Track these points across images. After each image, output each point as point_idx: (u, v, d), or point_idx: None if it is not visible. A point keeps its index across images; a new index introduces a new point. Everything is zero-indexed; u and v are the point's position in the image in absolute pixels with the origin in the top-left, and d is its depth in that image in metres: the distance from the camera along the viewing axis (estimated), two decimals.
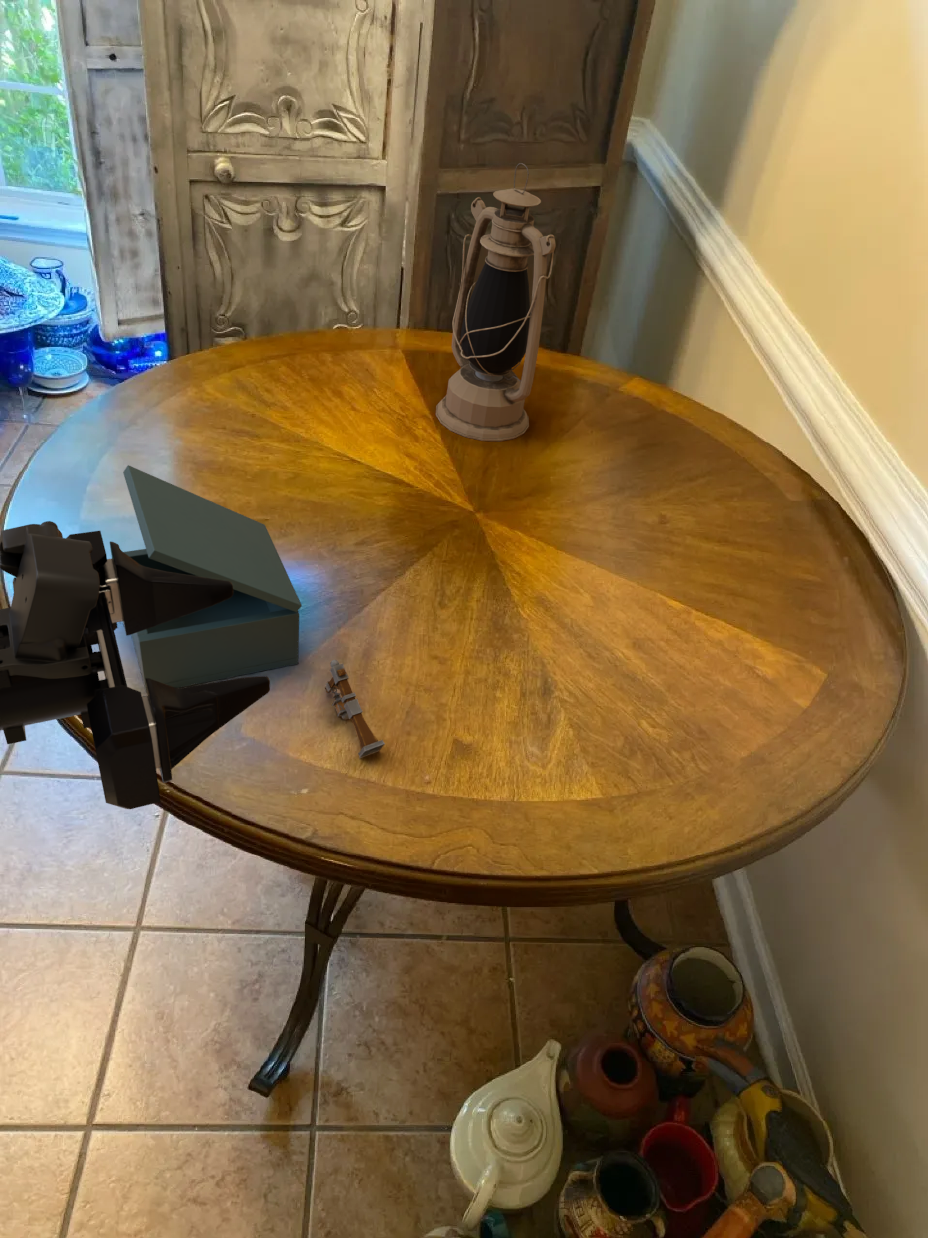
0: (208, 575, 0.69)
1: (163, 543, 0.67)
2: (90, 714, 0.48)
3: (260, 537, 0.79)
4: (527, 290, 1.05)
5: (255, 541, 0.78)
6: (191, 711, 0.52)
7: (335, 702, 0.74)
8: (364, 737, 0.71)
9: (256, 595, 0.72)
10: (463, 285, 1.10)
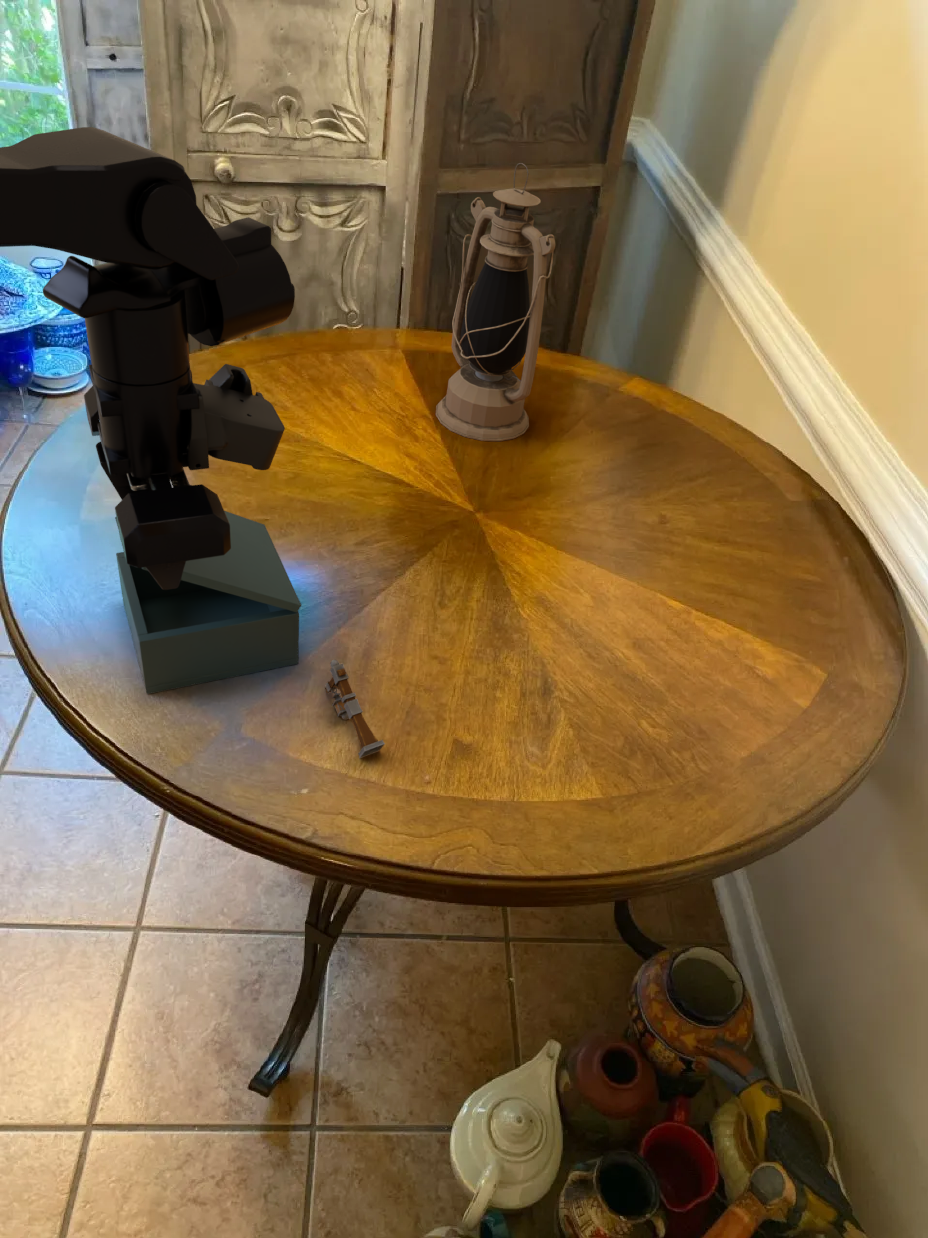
0: (204, 581, 0.69)
1: None
2: (206, 492, 0.56)
3: (259, 538, 0.79)
4: (527, 290, 1.05)
5: (253, 542, 0.78)
6: None
7: (335, 702, 0.74)
8: (364, 737, 0.71)
9: (254, 598, 0.72)
10: (463, 285, 1.10)
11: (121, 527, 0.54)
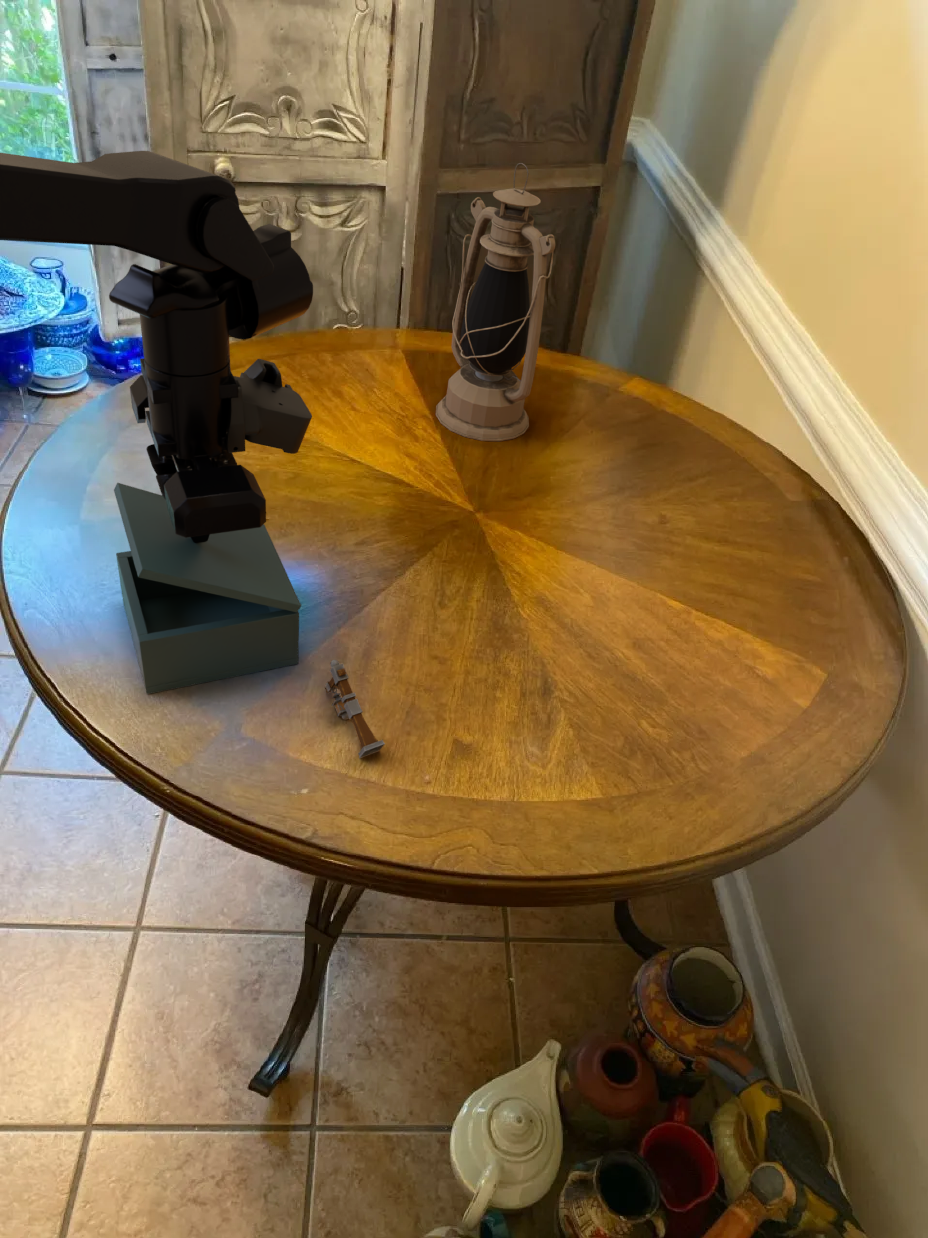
0: (201, 586, 0.69)
1: (152, 560, 0.67)
2: (244, 472, 0.64)
3: (258, 538, 0.79)
4: (527, 290, 1.05)
5: (252, 543, 0.78)
6: None
7: (335, 702, 0.74)
8: (364, 737, 0.71)
9: (253, 600, 0.72)
10: (463, 285, 1.10)
11: (171, 501, 0.61)
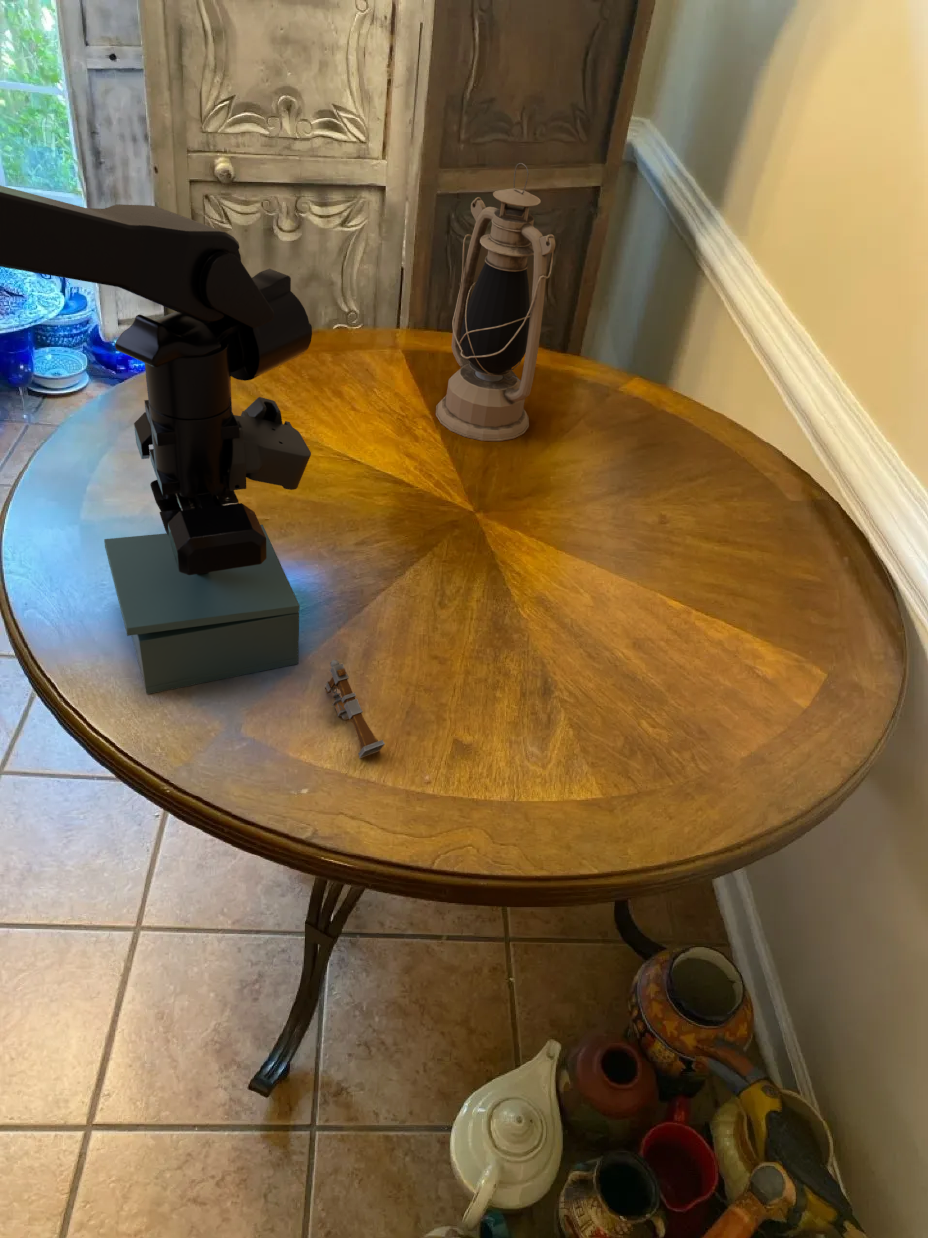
0: (191, 623, 0.71)
1: (137, 614, 0.70)
2: (246, 510, 0.66)
3: None
4: (527, 290, 1.05)
5: None
6: None
7: (335, 702, 0.74)
8: (364, 737, 0.71)
9: (248, 617, 0.73)
10: (463, 285, 1.10)
11: (174, 540, 0.63)
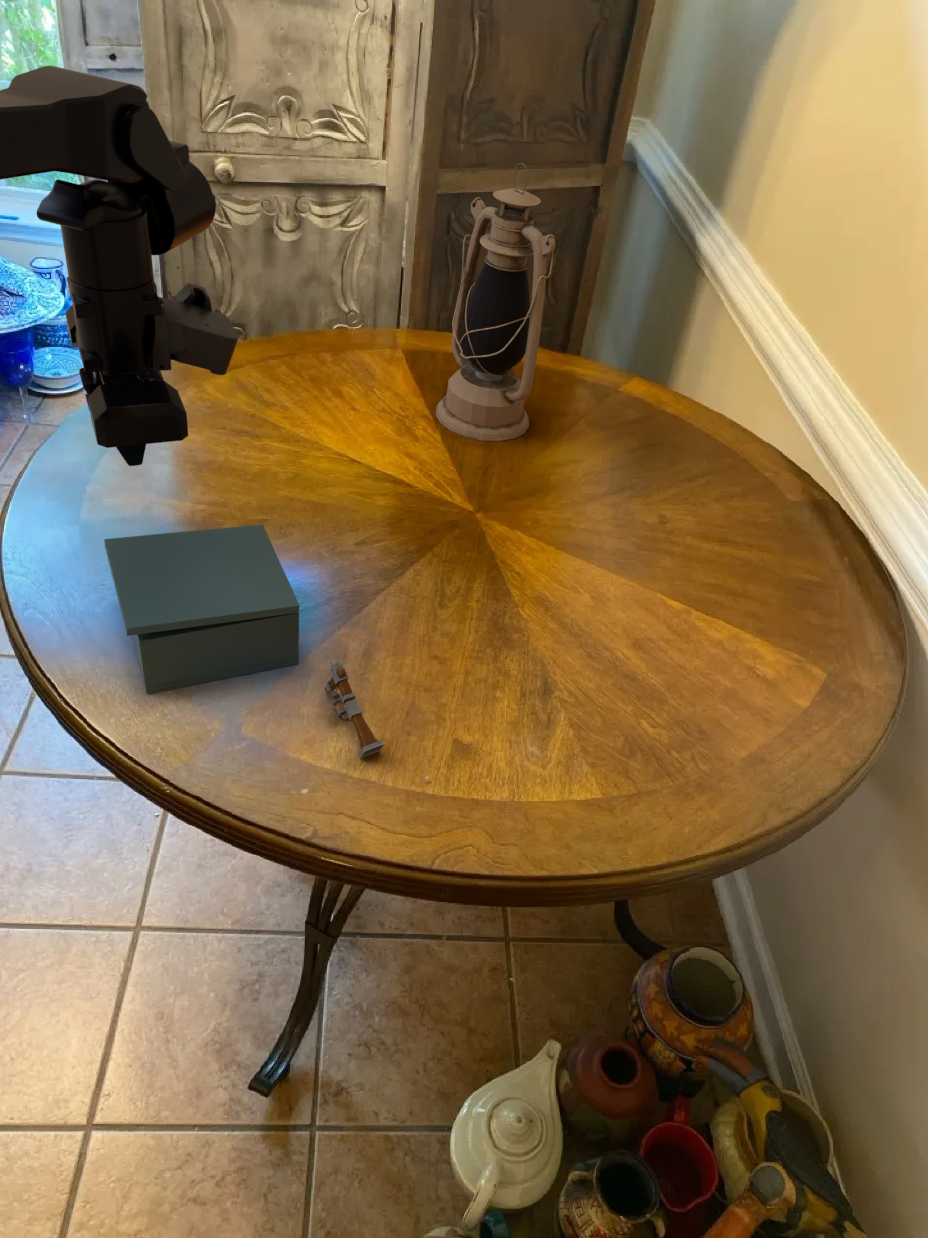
0: (191, 623, 0.71)
1: (137, 614, 0.70)
2: (167, 386, 0.65)
3: (255, 544, 0.80)
4: (527, 290, 1.05)
5: (248, 552, 0.78)
6: None
7: (335, 702, 0.74)
8: (364, 737, 0.71)
9: (248, 617, 0.73)
10: (463, 285, 1.10)
11: (92, 412, 0.63)
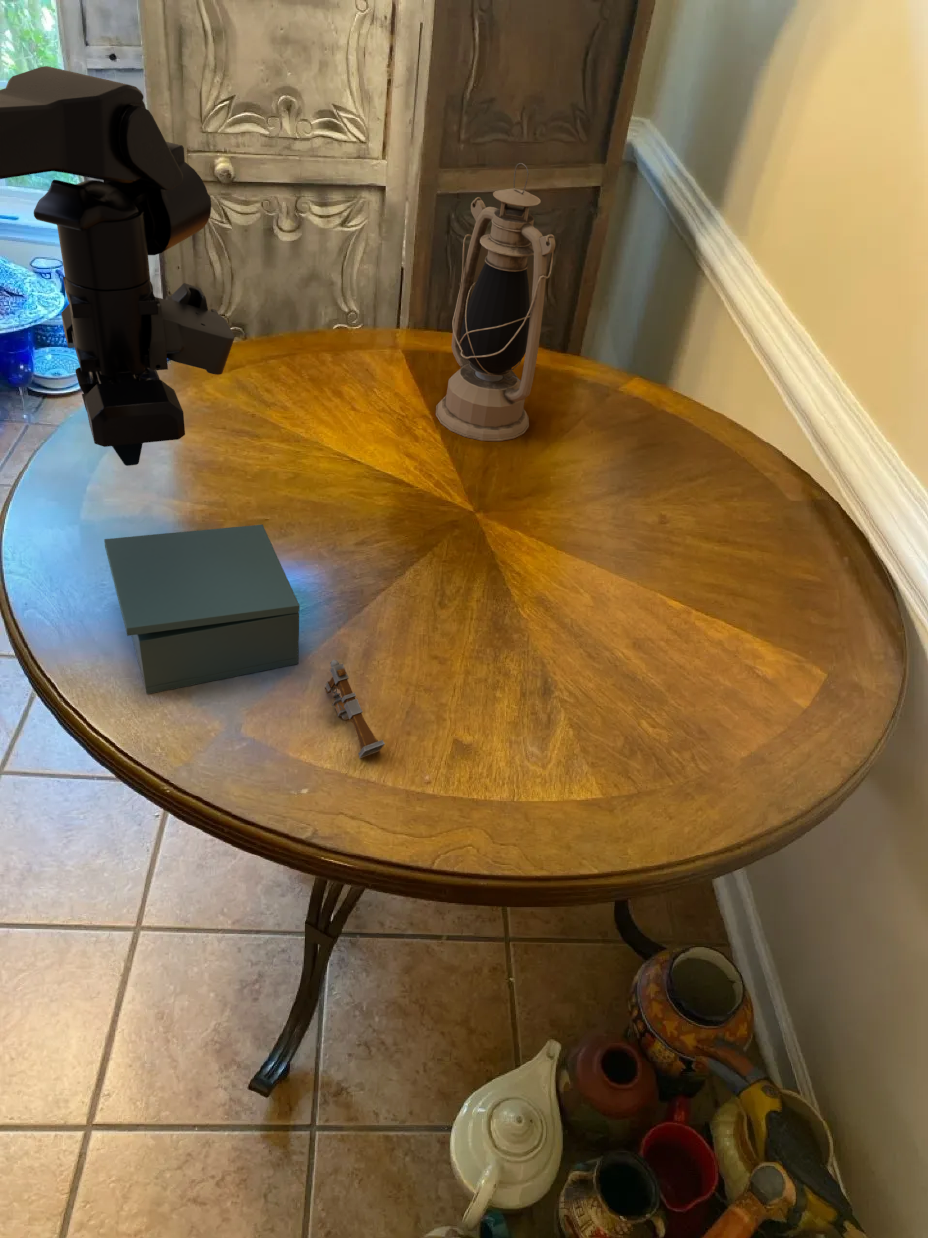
0: (191, 623, 0.71)
1: (137, 614, 0.70)
2: (164, 386, 0.66)
3: (255, 544, 0.80)
4: (527, 290, 1.05)
5: (248, 552, 0.78)
6: None
7: (335, 702, 0.74)
8: (364, 737, 0.71)
9: (248, 617, 0.73)
10: (463, 285, 1.10)
11: (89, 411, 0.63)
